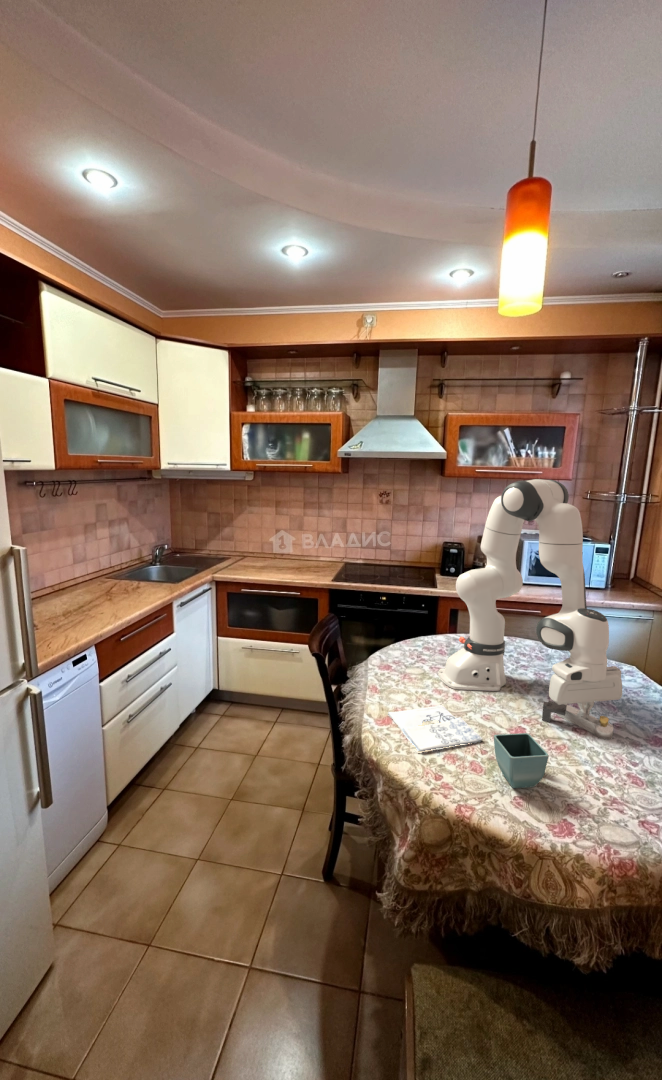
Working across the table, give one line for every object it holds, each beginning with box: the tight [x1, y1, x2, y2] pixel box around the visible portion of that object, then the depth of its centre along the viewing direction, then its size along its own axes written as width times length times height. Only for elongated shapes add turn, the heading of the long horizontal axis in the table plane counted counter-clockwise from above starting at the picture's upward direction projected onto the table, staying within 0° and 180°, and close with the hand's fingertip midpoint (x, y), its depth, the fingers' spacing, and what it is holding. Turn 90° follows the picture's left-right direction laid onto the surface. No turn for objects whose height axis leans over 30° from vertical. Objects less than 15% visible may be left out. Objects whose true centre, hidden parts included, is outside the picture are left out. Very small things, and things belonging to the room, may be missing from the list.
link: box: [555, 704, 614, 740], centre depth 120 cm, size 14×4×3 cm, turn 30°
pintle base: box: [541, 700, 610, 726], centre depth 120 cm, size 18×19×6 cm
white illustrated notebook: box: [387, 704, 484, 751], centre depth 121 cm, size 19×20×2 cm
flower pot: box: [493, 732, 550, 789], centre depth 99 cm, size 9×9×9 cm
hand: (584, 715), depth 122 cm, fingers closed, pressing on link
